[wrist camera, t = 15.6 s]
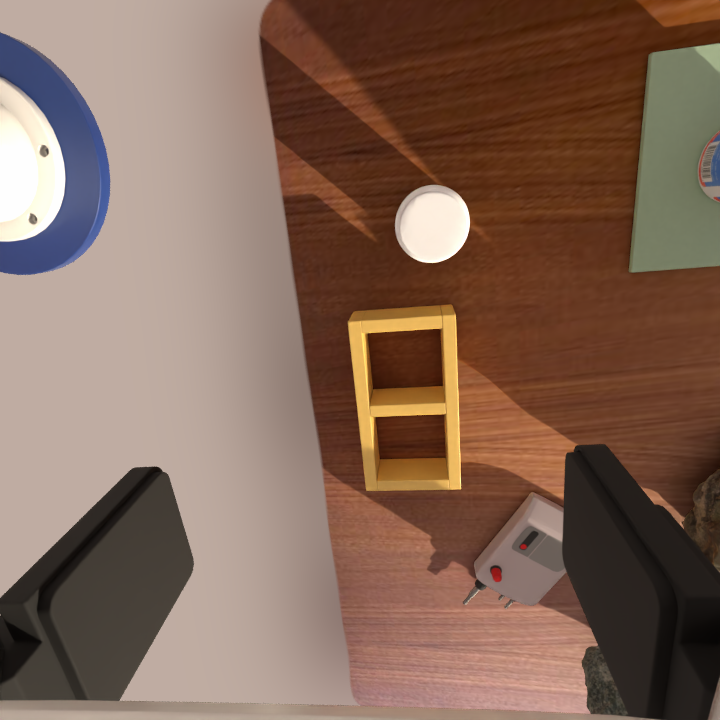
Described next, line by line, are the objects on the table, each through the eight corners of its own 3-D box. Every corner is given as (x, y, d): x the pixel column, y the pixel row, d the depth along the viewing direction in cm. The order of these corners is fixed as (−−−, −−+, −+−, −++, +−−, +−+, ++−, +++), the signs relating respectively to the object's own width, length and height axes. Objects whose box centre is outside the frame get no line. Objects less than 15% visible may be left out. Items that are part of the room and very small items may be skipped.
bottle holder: (369, 468, 42) (366, 491, 39) (353, 311, 37) (347, 321, 34) (457, 466, 41) (461, 490, 37) (452, 304, 36) (455, 314, 33)
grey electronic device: (607, 509, 40) (621, 532, 38) (507, 617, 46) (513, 645, 43) (543, 475, 40) (553, 496, 37) (450, 589, 45) (453, 614, 43)
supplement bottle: (402, 183, 33) (398, 177, 26) (466, 190, 33) (482, 187, 25) (394, 249, 35) (387, 263, 27) (454, 256, 35) (466, 272, 27)
